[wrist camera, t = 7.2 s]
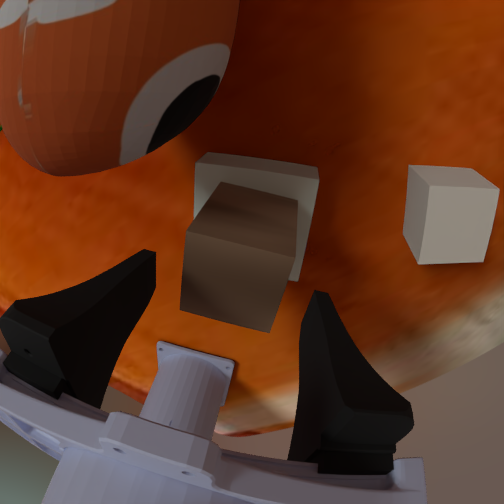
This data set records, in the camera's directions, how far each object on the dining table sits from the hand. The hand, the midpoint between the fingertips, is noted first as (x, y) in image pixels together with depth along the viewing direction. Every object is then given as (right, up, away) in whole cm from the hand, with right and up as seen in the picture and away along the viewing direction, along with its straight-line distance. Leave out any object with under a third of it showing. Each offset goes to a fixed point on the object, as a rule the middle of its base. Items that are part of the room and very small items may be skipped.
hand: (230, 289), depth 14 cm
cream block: (+14, +5, +5) cm, 15 cm away
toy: (-3, +19, -1) cm, 20 cm away
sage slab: (+1, +5, +8) cm, 9 cm away
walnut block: (+1, +3, +5) cm, 6 cm away
